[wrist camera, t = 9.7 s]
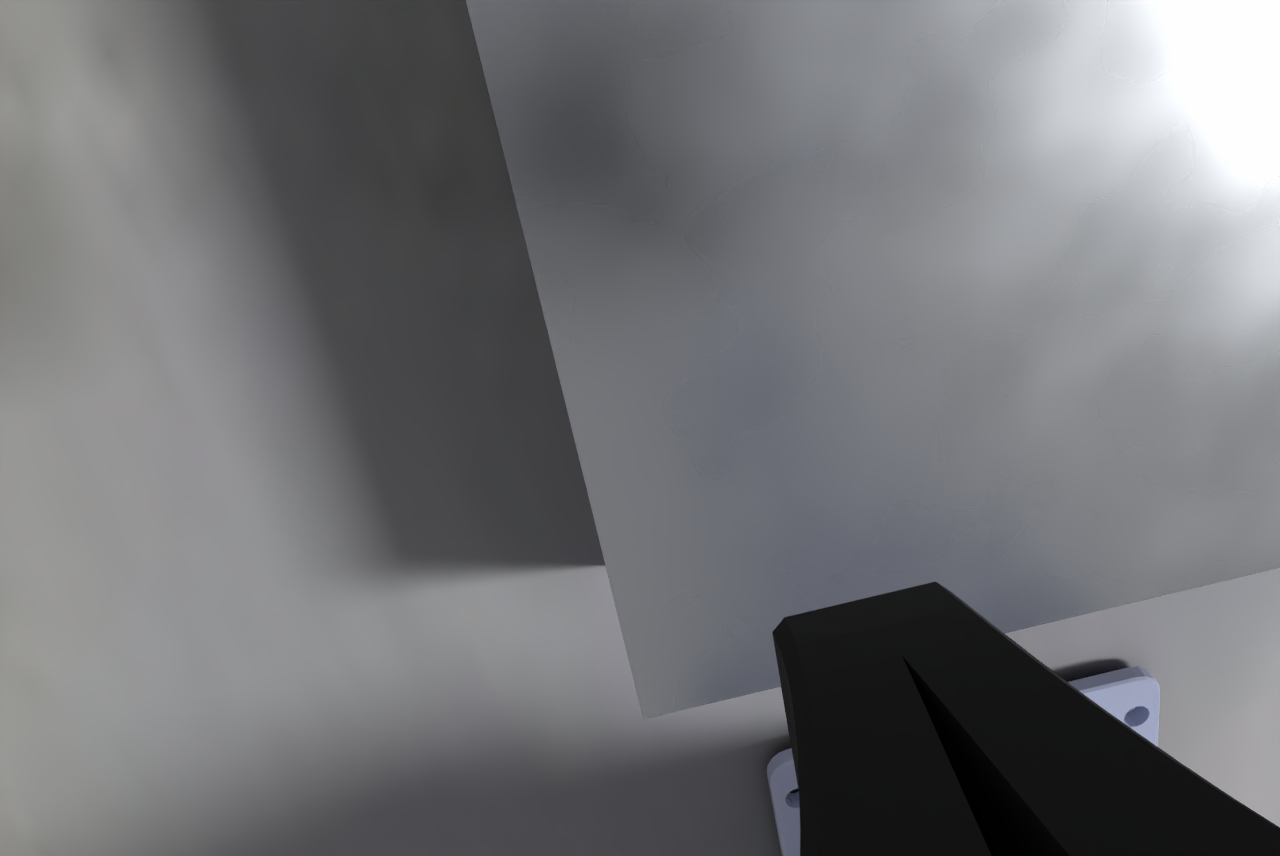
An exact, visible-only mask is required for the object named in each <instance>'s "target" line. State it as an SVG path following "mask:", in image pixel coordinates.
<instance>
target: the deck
mask: <svg viewBox="0 0 1280 856" xmlns="http://www.w3.org/2000/svg"><path fill="white" fill-rule="evenodd" d="M466 3H467V7H468V11H469V15H470V19H471V23H472V28H473V32H474V36H475V40H476V44H477V48H478V52H479V56H480V60H481V64H482V68H483V72H484V76H485V80H486V84H487V88H488V92H489V96H490V100H491V104H492V108H493V113H494V117H495V121H496V125H497V129H498V133H499V137H500V141H501V145H502V149H503V153H504V157H505V161H506V165H507V169H508V173H509V177H510V181H511V185H512V189H513V193H514V197H515V202H516V206H517V210H518V214H519V218H520V222H521V226H522V230H523V234H524V238H525V242H526V246H527V250H528V254H529V258H530V262H531V266H532V270H533V274H534V278H535V282H536V287H537V291H538V295H539V299H540V303H541V307H542V311H543V315H544V319H545V323H546V327H547V331H548V335H549V339H550V343H551V347H552V351H553V355H554V359H555V363H556V367H557V371H558V376H559V380H560V384H561V388H562V392H563V396H564V400H565V404H566V408H567V412H568V416H569V420H570V424H571V428H572V432H573V436H574V440H575V444H576V448H577V452H578V456H579V461H580V465H581V469H582V473H583V477H584V481H585V485H586V489H587V493H588V497H589V501H590V505H591V509H592V513H593V517H594V521H595V525H596V529H597V533H598V537H599V541H600V545H601V550H602V554H603V558H604V562H605V566H606V570H607V574H608V578H609V582H610V586H611V590H612V594H613V598H614V602H615V606H616V610H617V614H618V618H619V622H620V626H621V630H622V634H623V639H624V643H625V647H626V651H627V655H628V659H629V663H630V667H631V671H632V675H633V679H634V683H635V687H636V691H637V695H638V699H639V703H640V707H641V711H642V715H643V719H646V718H650V717H655V716H659V715H663V714H667V713H671V712H676V711H680V710H684V709H688V708H692V707H697V706H701V705H705V704H709V703H713V702H718V701H722V700H726V699H730V698H734V697H739V696H743V695H747V694H751V693H755V692H760V691H764V690H768V689H772V688H776V687H781V682H780V676H779V670H778V664H777V658H776V652H775V646H774V640H773V634H772V632H773V631H774V629H775V628H776V627H777V626H778V625H779V623H780V622H781V621H782V620H783V618H784V617H787V616H792V615H796V614H800V613H804V612H809V611H813V610H817V609H821V608H826V607H830V606H834V605H838V604H842V603H847V602H851V601H855V600H859V599H864V598H868V597H872V596H876V595H881V594H885V593H889V592H893V591H897V590H902V589H906V588H910V587H914V586H919V585H923V584H927V583H931V582H937V583H939V584H940V585H942V586H943V587H945V588H947V589H948V590H950V591H951V592H952V593H954V594H955V595H956V596H957V597H959V598H960V599H961V600H962V601H964V602H965V603H966V604H967V605H969V606H970V607H971V608H972V609H974V610H975V611H976V612H977V613H979V614H980V615H981V616H983V617H984V618H985V619H986V620H988V621H989V622H990V623H991V624H993V625H994V626H995V627H996V628H998V629H999V630H1000V631H1001V632H1003V633H1007V632H1012V631H1016V630H1020V629H1024V628H1028V627H1033V626H1037V625H1041V624H1045V623H1049V622H1054V621H1058V620H1062V619H1066V618H1070V617H1075V616H1079V615H1083V614H1087V613H1091V612H1096V611H1100V610H1104V609H1108V608H1112V607H1117V606H1121V605H1125V604H1129V603H1133V602H1138V601H1142V600H1146V599H1150V598H1154V597H1159V596H1163V595H1167V594H1171V593H1175V592H1180V591H1184V590H1188V589H1192V588H1196V587H1201V586H1205V585H1209V584H1213V583H1217V582H1222V581H1226V580H1230V579H1234V578H1238V577H1243V576H1247V575H1251V574H1255V573H1259V572H1264V571H1268V570H1272V569H1276V568H1280V0H466Z"/></svg>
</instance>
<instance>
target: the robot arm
mask: <svg viewBox="0 0 1280 856" xmlns="http://www.w3.org/2000/svg"><path fill="white" fill-rule="evenodd" d="M772 634H773V640H774V646H775V652H776V658H777V664H778V670H779V676H780V682H781V688H782V694H783V700H784V706H785V712H786V718H787V724H788V730H789V736H790V742H791V748H790V749H787V750H784V751H782V752H779V753H778V754H777V755H775V756H774V757H773V758H772V759H771V760H770V762H769V764H768V766H767V777H768V783H769V788H770V794H771V799H772V804H773V810H774V815H775V821H776V826H777V832H778V837H779V843H780V848H781V853H782V856H1280V828H1279V827H1278V826H1276V825H1275V824H1273V823H1272V822H1270V821H1268V820H1267V819H1265V818H1264V817H1262V816H1261V815H1259V814H1257V813H1256V812H1254V811H1253V810H1251V809H1250V808H1248V807H1246V806H1245V805H1243V804H1242V803H1240V802H1239V801H1237V800H1235V799H1234V798H1232V797H1231V796H1229V795H1228V794H1226V793H1225V792H1223V791H1222V790H1220V789H1219V788H1217V787H1216V786H1214V785H1213V784H1211V783H1210V782H1208V781H1207V780H1205V779H1204V778H1202V777H1201V776H1199V775H1198V774H1196V773H1195V772H1193V771H1192V770H1190V769H1189V768H1187V767H1186V766H1184V765H1183V764H1181V763H1180V762H1178V761H1177V760H1176V759H1174V758H1173V757H1171V756H1170V755H1168V754H1167V753H1166V752H1164V751H1163V750H1161V749H1160V748H1159V747H1158V729H1159V705H1160V688H1159V683H1158V682H1157V681H1156V680H1155V679H1154V677H1153V676H1152V675H1151V674H1150V673H1149V672H1148V671H1147V670H1146V669H1144V668H1141V667H1128V668H1124V669H1120V670H1115V671H1111V672H1107V673H1103V674H1099V675H1095V676H1090V677H1086V678H1082V679H1078V680H1074V681H1070V682H1067V681H1065V680H1064V679H1063V678H1061V677H1060V676H1059V675H1057V674H1056V673H1055V672H1053V671H1052V670H1051V669H1049V668H1048V667H1047V666H1045V665H1044V664H1043V663H1042V662H1040V661H1039V660H1038V659H1036V658H1035V657H1034V656H1032V655H1031V654H1030V653H1028V652H1027V651H1026V650H1025V649H1023V648H1022V647H1021V646H1019V645H1018V644H1017V643H1016V642H1014V641H1013V640H1012V639H1010V638H1009V637H1008V636H1007V635H1005V634H1004V633H1003V632H1001V631H1000V630H999V629H998V628H996V627H995V626H994V625H993V624H991V623H990V622H989V621H988V620H986V619H985V618H984V617H983V616H981V615H980V614H979V613H977V612H976V611H975V610H974V609H972V608H971V607H970V606H969V605H967V604H966V603H965V602H964V601H962V600H961V599H960V598H959V597H957V596H956V595H955V594H954V593H952V592H951V591H950V590H948V589H947V588H945V587H943V586H942V585H940V584H939V583H937V582H931V583H927V584H923V585H919V586H914V587H910V588H906V589H902V590H897V591H893V592H889V593H885V594H881V595H876V596H872V597H868V598H864V599H859V600H855V601H851V602H847V603H842V604H838V605H834V606H830V607H826V608H821V609H817V610H813V611H809V612H804V613H800V614H796V615H792V616H787V617H784V618H783V620H782V621H781V622H780V623H779V625H778V626H777V627H776V628H775V629H774V631H773V632H772ZM1135 707H1136V708H1135ZM1133 708H1134V709H1133ZM1130 709H1133V710H1132V711H1130V712H1128V711H1129V710H1130ZM1127 712H1128V713H1127ZM797 788H798V790H799V791H798V792H796V793H789V792H790V791H792V790H795V789H797Z"/></svg>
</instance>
